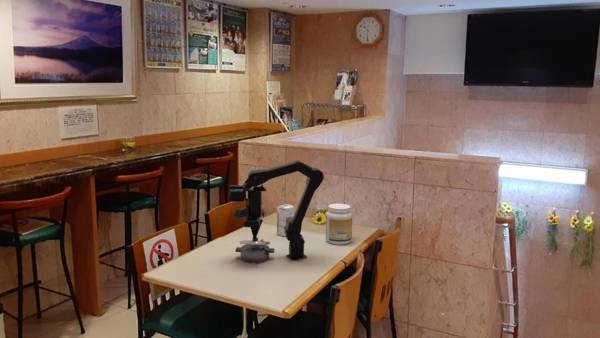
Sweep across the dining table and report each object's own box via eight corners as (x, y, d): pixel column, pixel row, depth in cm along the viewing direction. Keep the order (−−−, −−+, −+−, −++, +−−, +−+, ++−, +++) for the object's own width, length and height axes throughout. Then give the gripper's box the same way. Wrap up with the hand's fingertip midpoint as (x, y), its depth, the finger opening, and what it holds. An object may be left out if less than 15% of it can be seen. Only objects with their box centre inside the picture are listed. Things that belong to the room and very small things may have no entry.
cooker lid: (242, 242, 215) (242, 236, 215) (271, 243, 214) (271, 237, 214) (237, 244, 202) (237, 237, 202) (268, 245, 202) (268, 238, 202)
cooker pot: (277, 259, 208) (277, 248, 207) (248, 266, 200) (248, 255, 199) (261, 250, 218) (261, 240, 217) (232, 257, 210) (232, 246, 209)
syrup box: (284, 232, 245) (284, 203, 243) (293, 234, 241) (294, 205, 239) (276, 235, 241) (276, 205, 238) (286, 237, 237) (286, 208, 235)
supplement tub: (356, 243, 230) (357, 207, 227) (333, 246, 225) (334, 210, 222) (342, 235, 241) (343, 201, 238) (320, 239, 236) (321, 204, 233)
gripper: (239, 195, 214) (239, 230, 216) (230, 206, 195) (231, 244, 198) (265, 196, 213) (264, 231, 216) (259, 207, 195) (259, 245, 198)
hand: (254, 237), depth 207 cm, fingers closed
